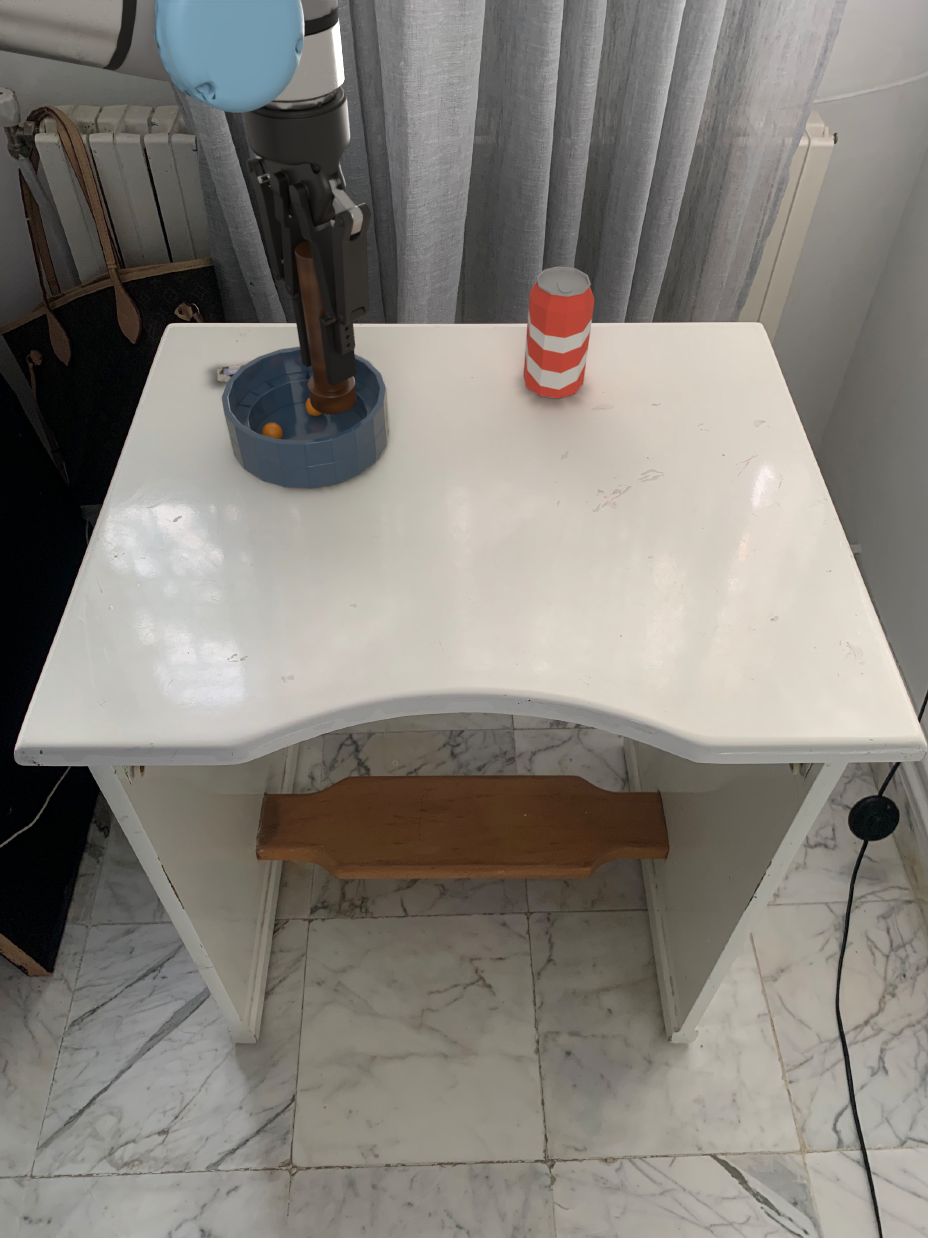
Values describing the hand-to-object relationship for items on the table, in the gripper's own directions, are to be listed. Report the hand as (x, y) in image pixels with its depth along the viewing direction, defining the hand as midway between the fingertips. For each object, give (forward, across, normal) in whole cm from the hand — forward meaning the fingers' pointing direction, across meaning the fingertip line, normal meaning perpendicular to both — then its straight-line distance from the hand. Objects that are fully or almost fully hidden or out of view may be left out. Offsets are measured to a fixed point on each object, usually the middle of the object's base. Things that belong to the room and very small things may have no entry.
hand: (329, 368), depth 82 cm
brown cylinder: (+4, 0, 0) cm, 4 cm away
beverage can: (+9, -7, -23) cm, 26 cm away
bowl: (+9, +2, +2) cm, 9 cm away
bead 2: (+7, +4, 0) cm, 8 cm away
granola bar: (+9, +16, 0) cm, 18 cm away
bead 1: (+7, +4, +5) cm, 9 cm away
